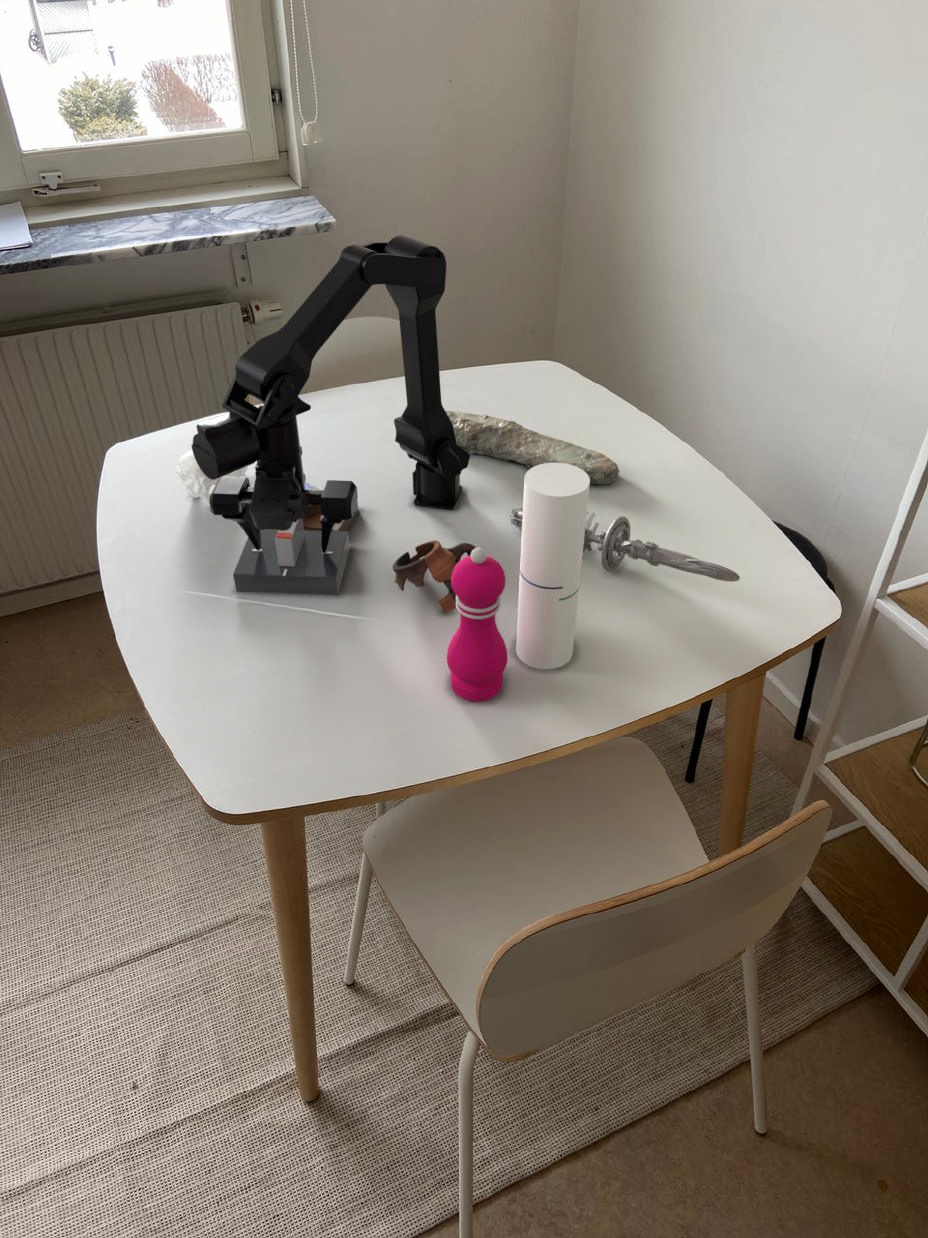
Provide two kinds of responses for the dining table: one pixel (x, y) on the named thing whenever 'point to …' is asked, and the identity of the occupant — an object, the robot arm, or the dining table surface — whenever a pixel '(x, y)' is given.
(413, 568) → the broken clay pot shards
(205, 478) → the white animal figurine
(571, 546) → the cylindrical container
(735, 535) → the dining table surface
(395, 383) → the dining table surface
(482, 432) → the elongated rock
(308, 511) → the button block
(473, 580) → the pepper mill
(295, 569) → the rotary switch base
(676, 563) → the silver sword
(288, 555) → the rotary switch knob
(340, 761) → the dining table surface
